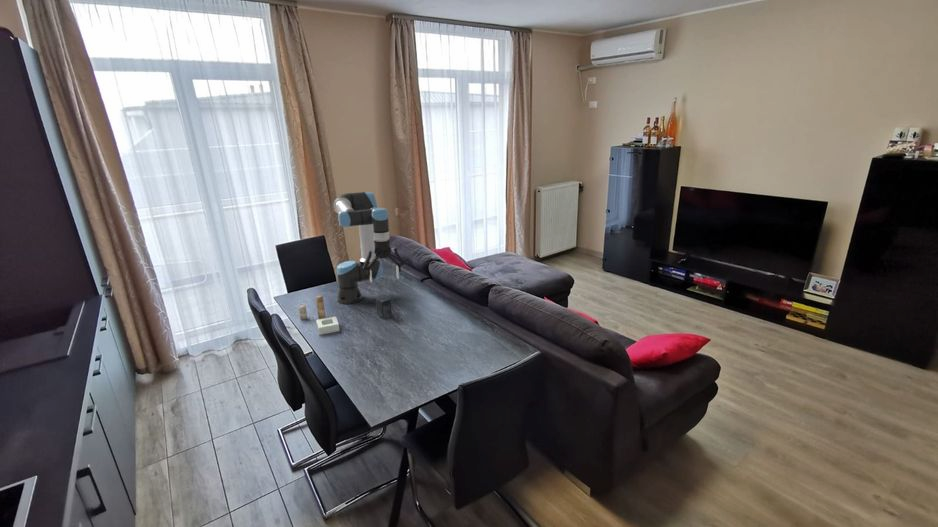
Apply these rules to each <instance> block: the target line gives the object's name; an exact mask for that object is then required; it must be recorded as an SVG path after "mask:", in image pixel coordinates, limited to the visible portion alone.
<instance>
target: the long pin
mask: <svg viewBox="0 0 938 527" xmlns="http://www.w3.org/2000/svg"><path fill="white" fill-rule="evenodd" d="M315 300H316V308H317V309H316V310H317V316H318V320H319V319H324V318H327V317H326V311H325V302H324V296H323V295H317V296H315Z"/></svg>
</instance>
